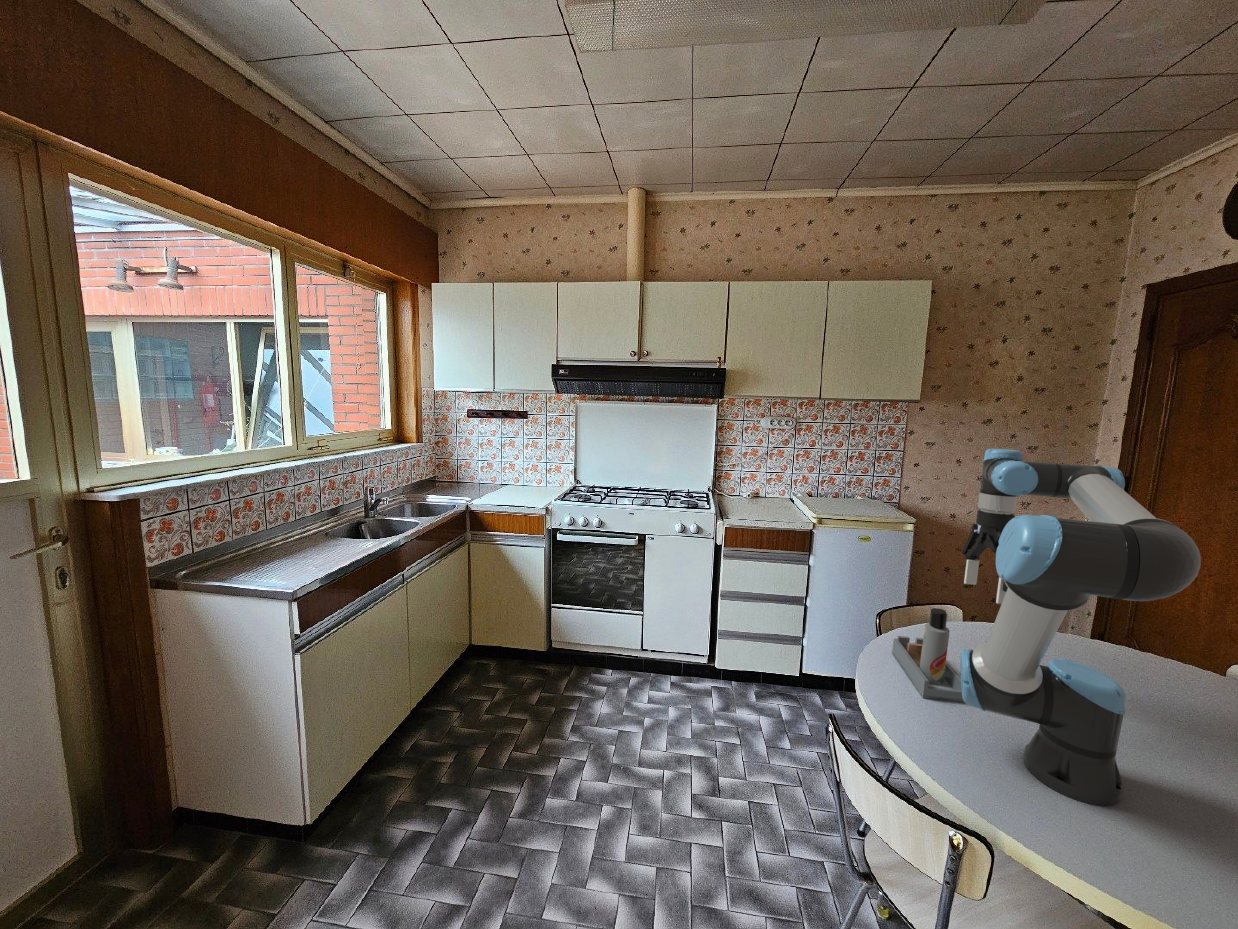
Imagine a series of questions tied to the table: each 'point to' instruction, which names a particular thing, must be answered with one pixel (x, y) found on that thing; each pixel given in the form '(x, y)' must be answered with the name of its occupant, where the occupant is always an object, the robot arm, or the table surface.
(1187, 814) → the table surface
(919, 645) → the pusher
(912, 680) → the tray
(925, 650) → the lotion bottle
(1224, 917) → the table surface
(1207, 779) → the table surface
